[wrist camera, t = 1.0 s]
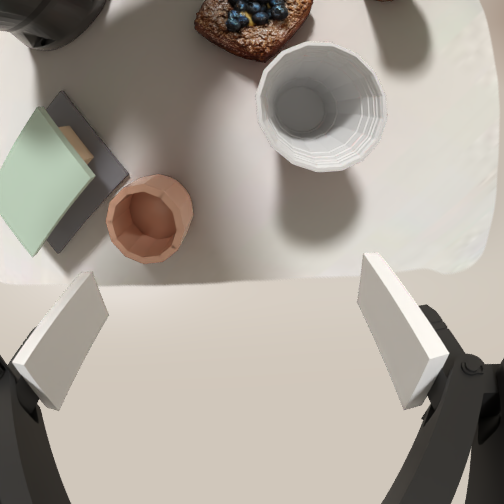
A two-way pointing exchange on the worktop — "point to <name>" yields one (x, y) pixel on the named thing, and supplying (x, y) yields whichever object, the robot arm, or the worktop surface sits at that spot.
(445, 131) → the worktop surface
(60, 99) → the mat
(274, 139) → the plastic cup
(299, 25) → the pastry
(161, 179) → the bowl
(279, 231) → the worktop surface
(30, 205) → the sheet
